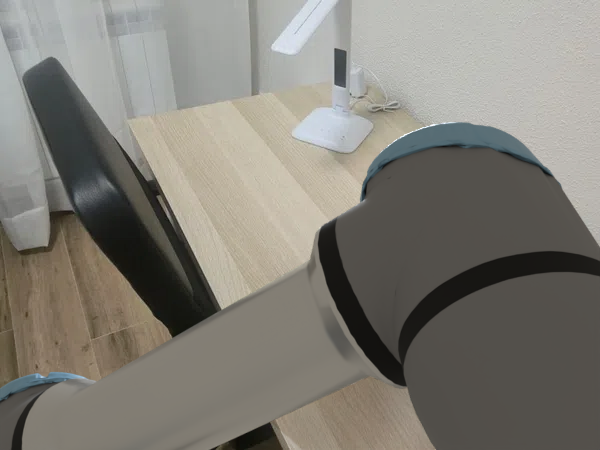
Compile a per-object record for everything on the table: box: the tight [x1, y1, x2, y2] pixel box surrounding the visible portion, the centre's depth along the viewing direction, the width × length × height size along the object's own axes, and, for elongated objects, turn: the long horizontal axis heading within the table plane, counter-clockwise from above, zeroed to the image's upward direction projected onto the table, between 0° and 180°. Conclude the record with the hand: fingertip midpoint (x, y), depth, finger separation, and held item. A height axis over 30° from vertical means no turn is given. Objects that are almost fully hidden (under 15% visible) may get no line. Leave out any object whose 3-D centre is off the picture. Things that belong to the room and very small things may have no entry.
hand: (420, 315), depth 73 cm, fingers closed on disc stack, 7 cm apart
